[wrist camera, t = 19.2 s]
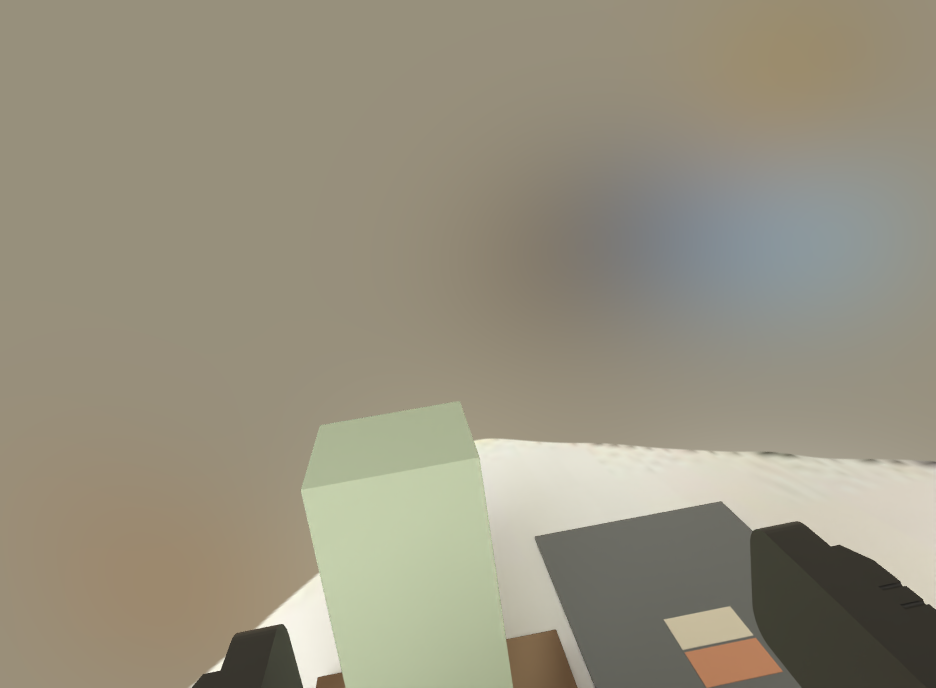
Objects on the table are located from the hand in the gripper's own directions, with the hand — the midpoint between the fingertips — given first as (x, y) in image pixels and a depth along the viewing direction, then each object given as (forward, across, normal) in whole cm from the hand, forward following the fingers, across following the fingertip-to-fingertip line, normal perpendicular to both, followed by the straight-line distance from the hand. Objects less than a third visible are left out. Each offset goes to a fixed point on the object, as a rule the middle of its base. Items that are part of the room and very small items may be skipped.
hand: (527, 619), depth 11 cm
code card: (+19, -10, +16) cm, 27 cm away
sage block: (+11, +3, +15) cm, 19 cm away
